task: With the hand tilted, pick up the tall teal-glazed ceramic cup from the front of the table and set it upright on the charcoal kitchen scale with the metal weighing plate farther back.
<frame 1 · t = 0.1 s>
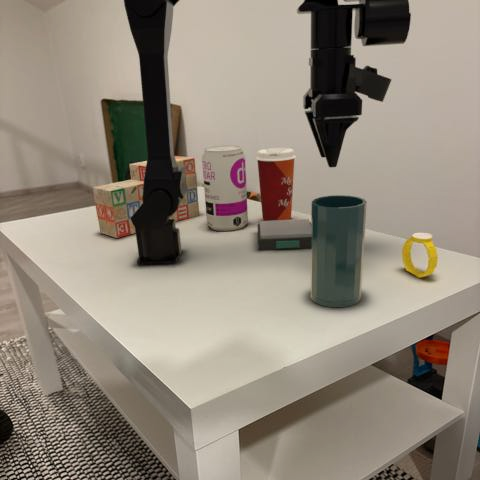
hand: (328, 161, 79), 15 cm above the table, tool pointing down, fingers open, 9 cm apart
paper cup: (277, 223, 103), on the table
scale: (285, 240, 92), on the table
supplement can: (227, 226, 103), on the table
stack of blocks: (152, 224, 107), on the table
ceramic cup: (335, 297, 69), on the table
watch: (416, 275, 75), on the table
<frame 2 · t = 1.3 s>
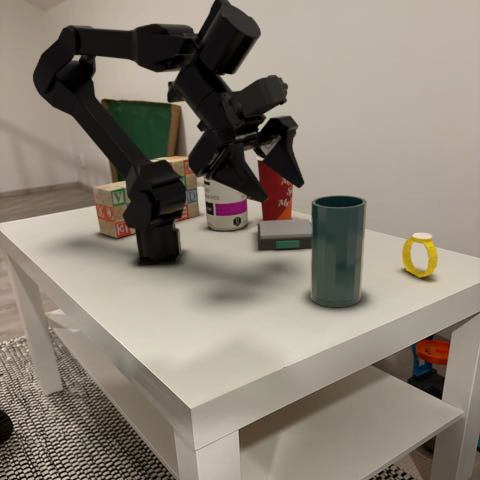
hand: (284, 192, 67), 13 cm above the table, tool tilted 45°, fingers open, 9 cm apart
nothing on the table moved.
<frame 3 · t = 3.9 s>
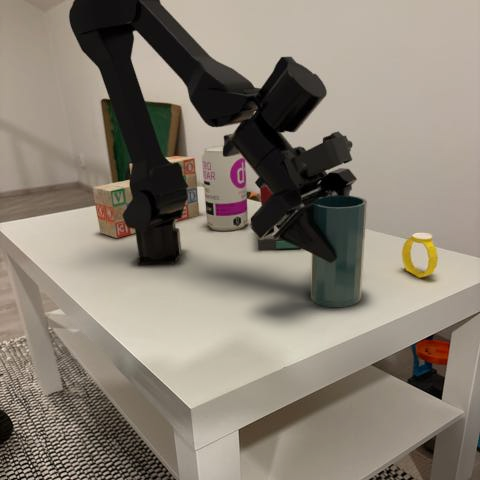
hand: (347, 252, 65), 7 cm above the table, tool tilted 45°, fingers closed on ceramic cup, 7 cm apart
ceramic cup: (335, 297, 69), on the table, touching gripper
everything else where it was.
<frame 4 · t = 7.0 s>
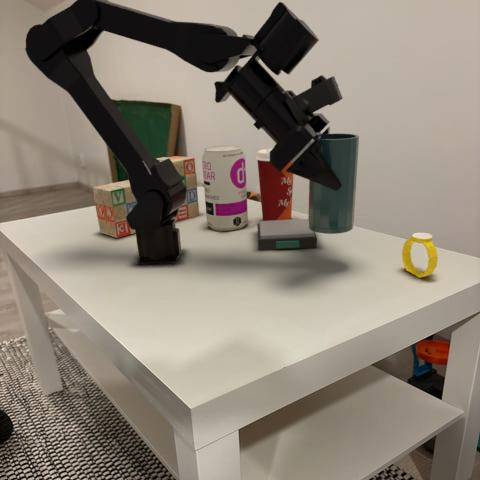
hand: (341, 182, 73), 13 cm above the table, tool tilted 45°, fingers closed on ceramic cup, 7 cm apart
ceramic cup: (330, 227, 77), point 6 cm above the table, touching gripper
everything else where it was.
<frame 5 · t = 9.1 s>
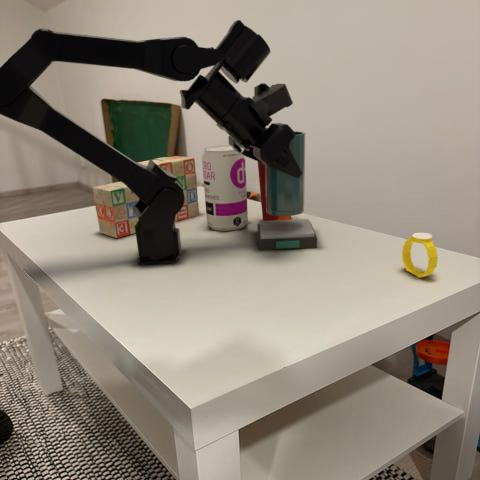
hand: (292, 172, 87), 12 cm above the table, tool tilted 45°, fingers closed on ceramic cup, 7 cm apart
ceramic cup: (285, 211, 90), point 5 cm above the table, touching gripper
everything else where it was.
when the fingers open (9 cm above the table, at t = 10.5 s): ceramic cup stays where it is, resting on scale.
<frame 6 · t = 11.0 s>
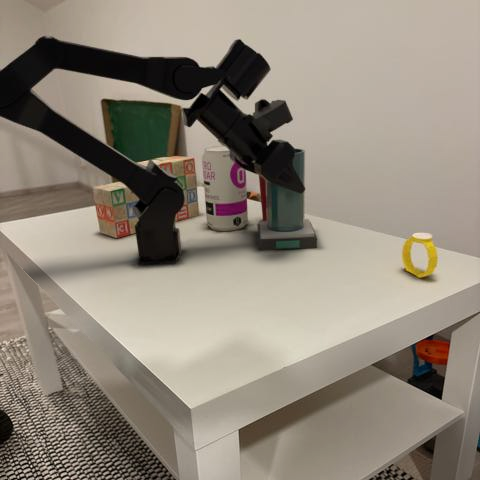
hand: (292, 186, 88), 10 cm above the table, tool tilted 45°, fingers open, 9 cm apart
ceramic cup: (285, 226, 91), point 2 cm above the table, touching scale
everything else where it was.
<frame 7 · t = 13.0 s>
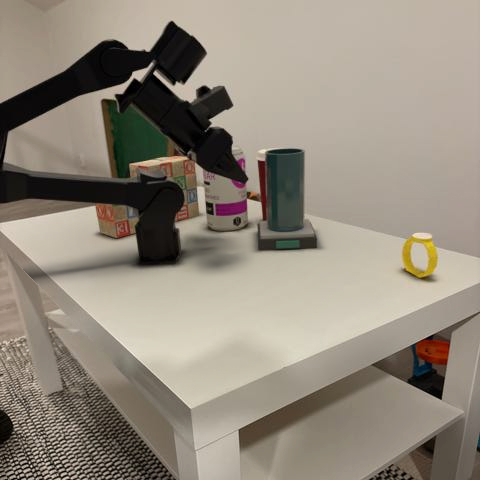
hand: (238, 176, 85), 12 cm above the table, tool tilted 45°, fingers open, 9 cm apart
nothing on the table moved.
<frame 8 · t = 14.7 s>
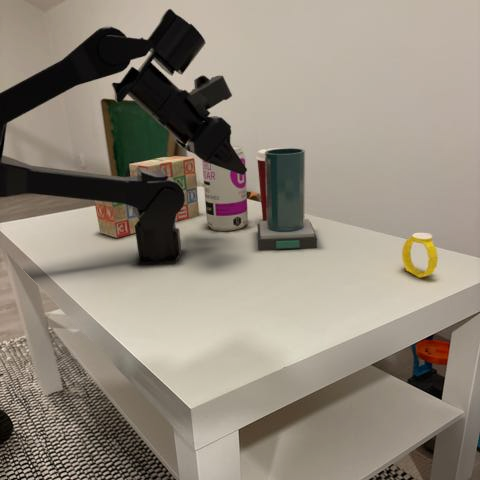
hand: (236, 168, 84), 14 cm above the table, tool tilted 45°, fingers open, 9 cm apart
nothing on the table moved.
at the end: ceramic cup inside the target area on the scale (0.0 cm from its centre), point 2.5 cm above the scale's base; ceramic cup tilted 0°; the gripper is holding nothing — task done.
